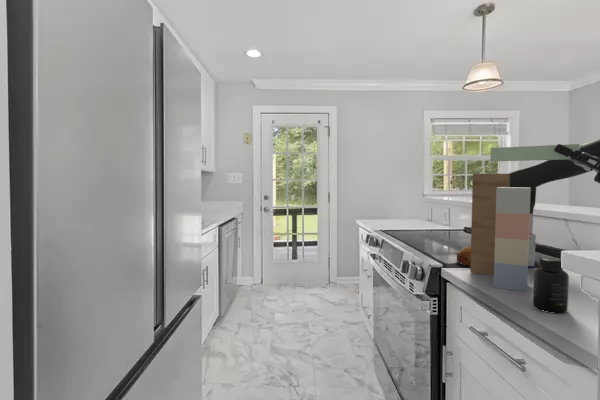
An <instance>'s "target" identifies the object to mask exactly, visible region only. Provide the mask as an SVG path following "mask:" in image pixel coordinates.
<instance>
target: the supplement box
mask: <svg viewBox="0 0 600 400" xmlns="http://www.w3.org/2000/svg"><path fill="white" fill-rule="evenodd" d="M536 236H537V235H536V234H531V233H529V249H528V269H529V268H530V269H531V268H533V269H534V268H535V259H536V257H535V255H536V239H537V237H536Z"/></svg>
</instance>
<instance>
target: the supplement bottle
mask: <svg viewBox="0 0 600 400" xmlns="http://www.w3.org/2000/svg"><path fill="white" fill-rule="evenodd" d="M561 259H562V258H559V257H553V256H540V257H539V268H536V269H535V270H534V273H533V295H532V305H533V307H534V308H535V307H536V308H538V309H540V310H539V311H541V310H544V311H548V312H554V313H553V314H558V313H559V314H564V312H565V313H566V312H568V306H569V305H568V304H569V285H570V284H569V283H570V281H569V280H570V276H569V274H568V272H566V271H565V270H564V269H562V268H561ZM536 308H535V309H536ZM538 309H537V310H538ZM544 311H543V312H544ZM548 312H547V313H548Z"/></svg>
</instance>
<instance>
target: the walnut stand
mask: <svg viewBox="0 0 600 400" xmlns="http://www.w3.org/2000/svg"><path fill="white" fill-rule="evenodd" d="M498 187H510V174H509V173H472V189H471V192H472V193H471V194H472V197H471V200H472V201H471V232H470V233H471V234H470V235H471V238H470V241H471V242H470V246H471V266H470V270H469V271H470V272H469V273H471V274H481V275H488V276H494V257H495V222H496V188H498Z"/></svg>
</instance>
